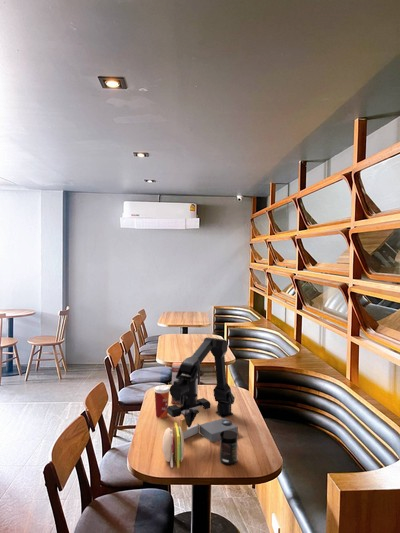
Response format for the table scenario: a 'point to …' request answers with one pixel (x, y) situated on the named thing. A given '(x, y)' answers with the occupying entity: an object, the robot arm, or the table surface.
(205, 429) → the box with round button
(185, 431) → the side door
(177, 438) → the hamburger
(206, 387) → the table surface
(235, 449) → the supplement container
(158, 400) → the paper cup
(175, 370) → the cracker box
